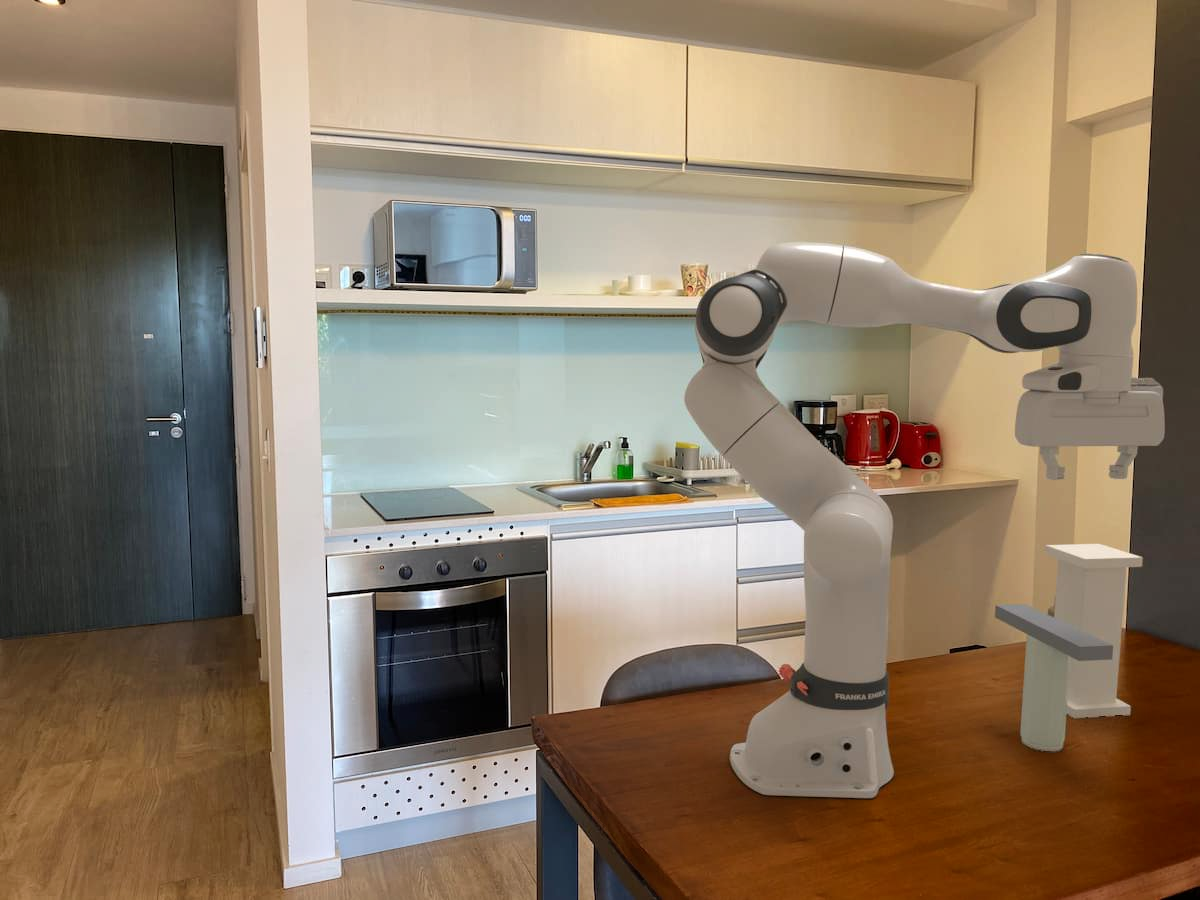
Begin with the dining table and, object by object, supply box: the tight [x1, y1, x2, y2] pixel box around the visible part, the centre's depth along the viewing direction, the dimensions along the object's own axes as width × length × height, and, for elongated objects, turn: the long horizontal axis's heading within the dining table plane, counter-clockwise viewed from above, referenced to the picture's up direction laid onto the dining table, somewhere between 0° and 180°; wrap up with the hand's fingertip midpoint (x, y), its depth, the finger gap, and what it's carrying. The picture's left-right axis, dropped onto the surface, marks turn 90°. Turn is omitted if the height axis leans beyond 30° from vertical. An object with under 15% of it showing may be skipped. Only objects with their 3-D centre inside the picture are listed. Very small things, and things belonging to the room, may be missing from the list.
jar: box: [1019, 634, 1071, 753], centre depth 136 cm, size 6×6×16 cm
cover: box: [994, 603, 1113, 661], centre depth 134 cm, size 5×20×2 cm, turn 8°
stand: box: [1044, 543, 1144, 719], centre depth 150 cm, size 10×10×26 cm
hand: (1086, 478), depth 125 cm, fingers open, 8 cm apart
